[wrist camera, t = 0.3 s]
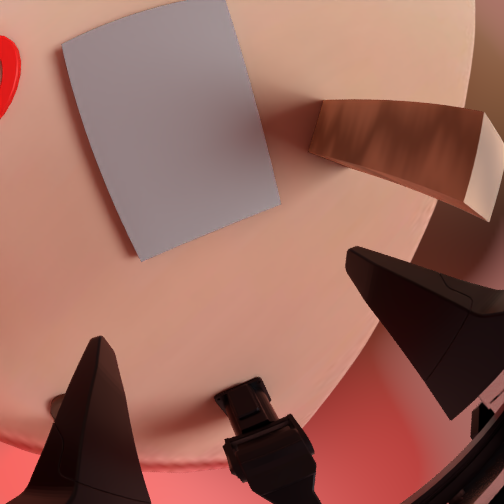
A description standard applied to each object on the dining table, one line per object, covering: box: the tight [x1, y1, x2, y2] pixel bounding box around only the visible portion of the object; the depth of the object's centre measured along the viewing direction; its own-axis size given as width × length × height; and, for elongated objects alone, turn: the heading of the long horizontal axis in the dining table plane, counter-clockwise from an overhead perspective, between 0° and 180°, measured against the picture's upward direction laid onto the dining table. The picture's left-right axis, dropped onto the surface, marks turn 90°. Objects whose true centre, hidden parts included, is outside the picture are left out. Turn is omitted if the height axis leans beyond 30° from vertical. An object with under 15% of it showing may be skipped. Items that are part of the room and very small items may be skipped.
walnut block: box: [308, 99, 504, 222], centre depth 17 cm, size 5×5×15 cm
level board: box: [61, 0, 281, 262], centre depth 18 cm, size 18×12×1 cm, turn 15°
